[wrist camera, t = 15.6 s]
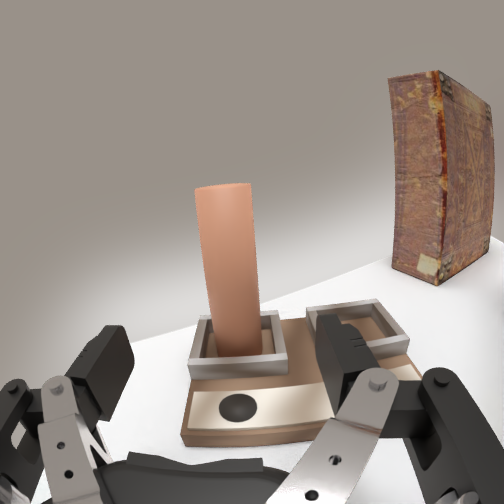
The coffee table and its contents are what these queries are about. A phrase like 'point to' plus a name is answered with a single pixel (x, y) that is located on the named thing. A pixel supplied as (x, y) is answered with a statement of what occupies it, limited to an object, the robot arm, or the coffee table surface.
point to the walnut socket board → (278, 378)
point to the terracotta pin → (230, 267)
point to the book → (440, 175)
